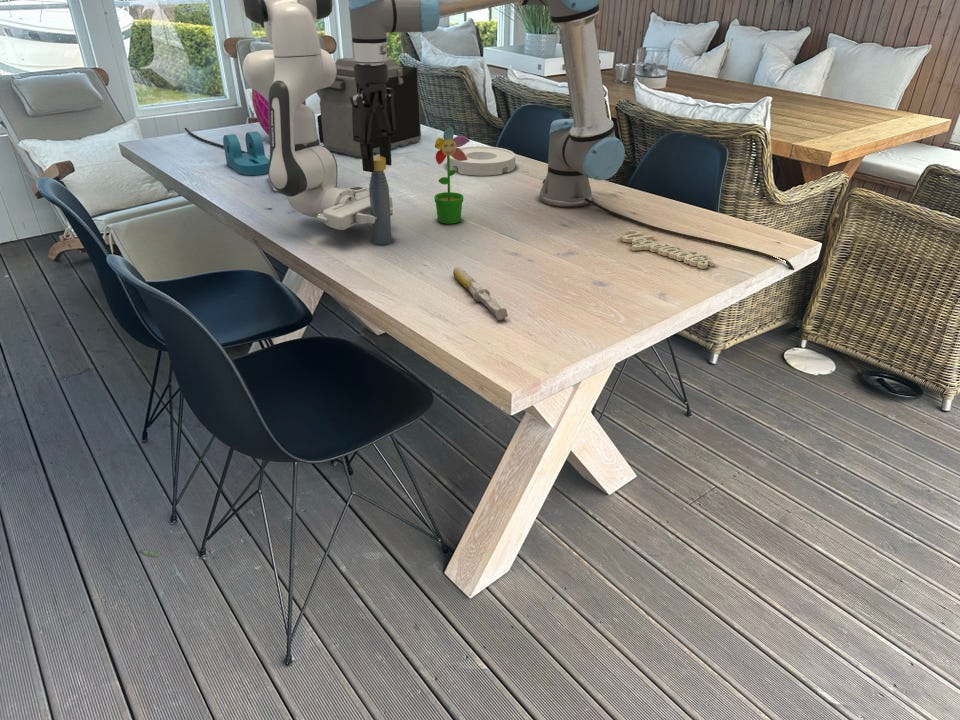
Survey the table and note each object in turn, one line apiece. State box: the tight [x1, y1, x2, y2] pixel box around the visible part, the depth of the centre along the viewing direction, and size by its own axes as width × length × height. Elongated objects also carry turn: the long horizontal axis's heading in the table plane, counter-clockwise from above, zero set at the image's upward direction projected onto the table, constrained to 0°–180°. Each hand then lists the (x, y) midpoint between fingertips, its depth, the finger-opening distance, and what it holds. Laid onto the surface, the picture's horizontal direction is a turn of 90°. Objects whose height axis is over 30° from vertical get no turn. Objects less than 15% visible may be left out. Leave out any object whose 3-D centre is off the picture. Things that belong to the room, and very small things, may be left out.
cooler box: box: [315, 57, 422, 158], centre depth 250 cm, size 37×22×30 cm, turn 144°
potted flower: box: [433, 126, 471, 225], centre depth 180 cm, size 9×8×25 cm
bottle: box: [368, 170, 393, 246], centre depth 167 cm, size 5×5×20 cm
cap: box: [373, 155, 387, 171], centre depth 163 cm, size 4×4×2 cm
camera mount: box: [222, 131, 270, 176], centre depth 226 cm, size 18×10×10 cm, turn 35°
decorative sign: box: [621, 229, 715, 270], centre depth 168 cm, size 26×1×10 cm
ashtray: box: [450, 145, 516, 177], centre depth 233 cm, size 23×23×4 cm
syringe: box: [452, 266, 509, 321], centre depth 145 cm, size 25×4×3 cm, turn 21°
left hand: (383, 216), depth 169 cm, fingers closed on bottle, 5 cm apart
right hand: (377, 167), depth 163 cm, fingers open, 6 cm apart
